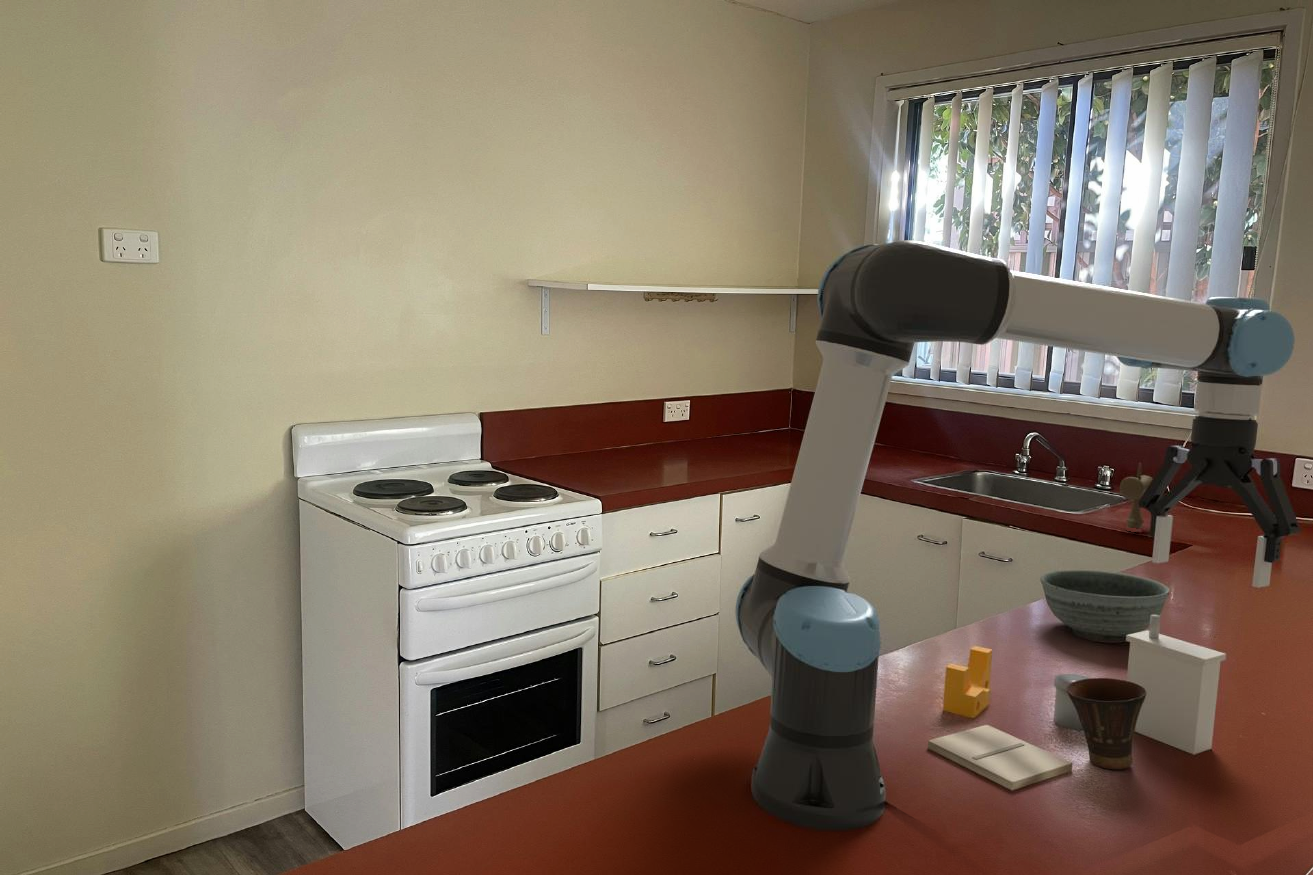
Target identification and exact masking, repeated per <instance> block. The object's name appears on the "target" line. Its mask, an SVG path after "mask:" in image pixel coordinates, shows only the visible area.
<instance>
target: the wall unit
mask: <svg viewBox="0 0 1313 875" xmlns="http://www.w3.org/2000/svg"><path fill="white" fill-rule="evenodd" d="M1160 629H1161V616H1160V615H1151V618H1150V626H1149V629H1145V630H1143V631H1141V632H1138V633H1133V634H1129V635H1126V641H1125V642H1129V652H1128V661H1127V662H1128V664H1127V672H1126V673H1127V674H1126V681H1130V682H1133V683H1135V684H1138V685H1140V686H1142V687H1143V688H1144V689H1145V690H1146V697H1145V700H1144V702H1143V704H1142V707H1141V709H1140V712H1139V716H1138V719H1137V723H1136V727H1135V732H1136V733H1139V734H1141V735H1142V736H1146V737H1148V738H1151V739H1153V740H1156V741H1159V742H1161V743H1163V744H1165V745H1167V746H1171V747H1174V748H1176V749H1179V750H1181V751H1184V752H1186V753H1188V754H1191V755H1193V756H1194V755H1197V754H1199V753H1203V752H1205V751H1208V750H1211V749H1212V745H1213V735H1214V726H1215V718H1216V716H1215V715H1216V706H1217V700H1218V699H1217V698H1218V688H1219V679H1220V669H1221V662H1222V661H1226V659H1227V653H1226V652H1221V651H1217V650H1215V649H1211V648H1207V647H1206V646H1202V645H1198V644H1194V643H1191V642H1188V641H1185V640H1181V639H1178V638H1175V637H1171V636H1168V635H1165V634H1162V633H1160ZM1135 732H1134V733H1135Z"/></svg>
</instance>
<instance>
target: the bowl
mask: <svg viewBox="0 0 1313 875" xmlns="http://www.w3.org/2000/svg"><path fill="white" fill-rule="evenodd" d="M1039 578H1040V579H1039V580H1040V581H1039V582H1041V585H1042V589H1043V593H1044V597H1045V600H1046V603H1047V606H1048V608H1049V610H1051V612H1052V614H1053V615H1054V616H1055V617H1056V618H1057V619H1058V620H1059V621H1060V622H1062V624H1064V625H1066V626H1067V627H1069V628H1071V630H1072V633H1073V634H1074V635H1076V636H1077V637H1080V638H1082V639H1085V640H1089V641H1092V642H1097V643H1098V642H1101V643H1123V642H1127V641H1126V635H1129V634H1133V633H1138V632H1142V631H1146V630H1147V629H1148V628H1150V618H1151V615H1159V616H1160V615H1161V613H1162V612H1163V610H1164V607H1165V605H1166V601H1167V598H1168V597H1169V596H1170V593H1171V590H1170V588H1169V587H1168V586H1167V585H1166V584H1164V583H1161V582H1160V581H1157V580H1153V579H1151V578H1146V577H1142V576H1138V575H1133V574H1128V573H1123V572H1114V571H1107V570H1095V569H1094V570H1092V569H1066V570H1063V569H1062V570H1055V571H1051V572H1046V573H1044V574H1042V575H1041V576H1040V577H1039Z"/></svg>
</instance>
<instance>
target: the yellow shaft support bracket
mask: <svg viewBox="0 0 1313 875" xmlns="http://www.w3.org/2000/svg"><path fill="white" fill-rule="evenodd" d="M969 650H970V651H969V658H968V663H967V666H963V665H960V664H955V663H952V662H951V663H949V664H948V665H947V666H946V667H945V676H944V690H943V691H944V692H943V706H942V707H943V708H942V711H944V710H945V711H944V712H947V711H948V712H949V713H951V712H952V714H955V715H958V716H962V717H967V718H971V719H975V718H976V717H977V716H978V715H979V714H980V713H982V711H984V710H985V709H986V708H987V707H988V706H989V705H990V697H991V689H990V685H991V684H990V683H991V671H992V670H991V669H992V657H993V649H991V648H987V647H982V646H977V645H973V646H972V647H971V648H970V649H969Z"/></svg>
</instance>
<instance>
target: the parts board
mask: <svg viewBox="0 0 1313 875" xmlns="http://www.w3.org/2000/svg"><path fill="white" fill-rule="evenodd" d="M927 749H929V750H931V751H933V752H934V753H936V754H938V755H941V756H942V757H944V758H946V759H949V760H950V761H952V762H954V763H957V764H958V765H960V766H963V767H965V768H967V769H969V770H970V771H972V772H974V773H976V774H978V775H980V776H982V777H985V778H986V779H989V780H990V781H992V782H994V783H997V784H999V785H1000V786H1002V787H1004V788H1006V789H1008V790H1010V791H1014V790H1018V789H1021V788H1024V787H1026V786H1030V785H1032V784H1036V783H1038V782H1039V783H1040V782H1042V781H1046V780H1048V779H1051V778H1054V777H1057V776H1059V775H1063V774H1067V773H1069V772H1072V770H1073V762H1071V761H1069V760H1067V759H1064V758H1062V757H1060V756H1058V755H1055V754H1054V753H1051V752H1049V751H1047V750H1045V749H1042V748H1040V747H1038V746H1036V745H1033V744H1031V743H1028V742H1027V741H1025V740H1023V739H1020V738H1019V737H1018V738H1017V737H1015V736H1013V735H1010V734H1009V733H1006V732H1005V731H1002V730H1000V729H997V728H996V727H993V726H991V725H989V724H984V725H981V726H977V727H974V728H973V727H972V728H970V729H966V730H962V731H958V732H955V733H951V734H948V735H943V736H940V737H937V738H933V739H932V738H931V739H930V740H928V741H927Z"/></svg>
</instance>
